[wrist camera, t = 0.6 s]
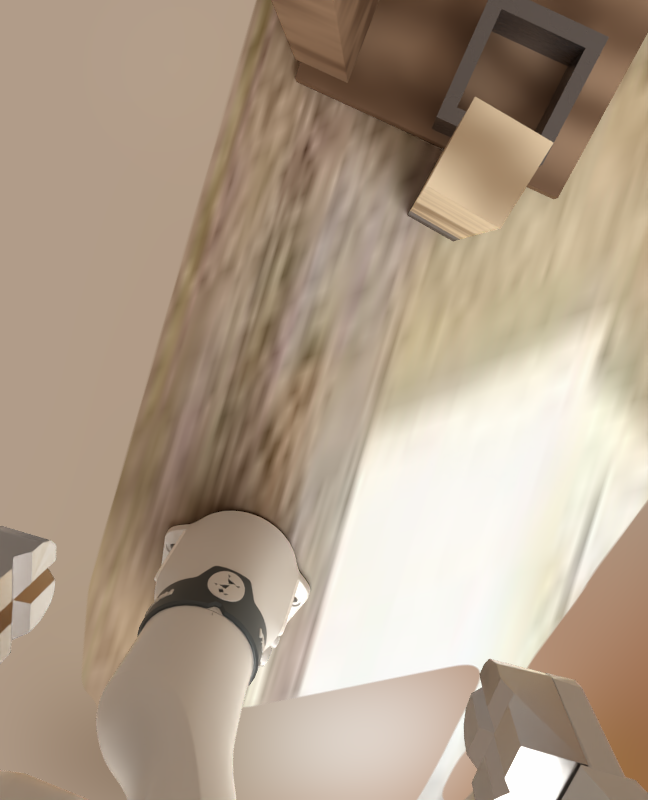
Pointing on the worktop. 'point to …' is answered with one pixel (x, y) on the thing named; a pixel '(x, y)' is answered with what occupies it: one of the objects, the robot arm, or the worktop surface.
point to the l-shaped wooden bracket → (471, 63)
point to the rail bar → (479, 174)
